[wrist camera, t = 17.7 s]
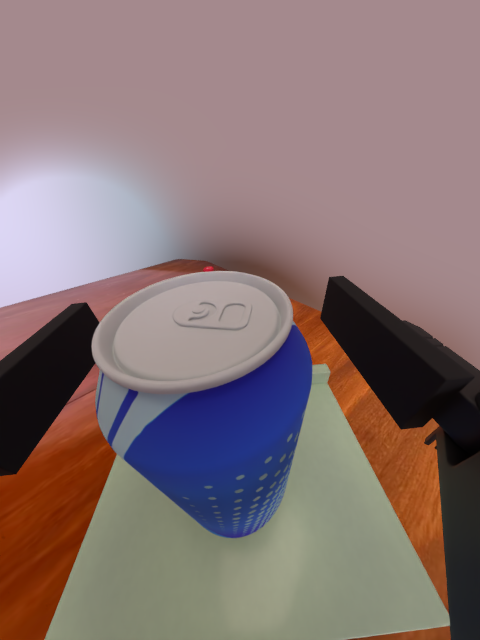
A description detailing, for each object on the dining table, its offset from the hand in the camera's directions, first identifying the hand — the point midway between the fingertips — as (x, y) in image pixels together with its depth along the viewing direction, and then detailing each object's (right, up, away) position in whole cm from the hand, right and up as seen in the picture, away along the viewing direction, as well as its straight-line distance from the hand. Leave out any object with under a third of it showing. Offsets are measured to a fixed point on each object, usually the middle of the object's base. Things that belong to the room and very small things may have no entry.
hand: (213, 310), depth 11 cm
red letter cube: (-10, +16, +60) cm, 63 cm away
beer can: (+1, -13, +5) cm, 14 cm away
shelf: (+2, -19, +10) cm, 22 cm away
